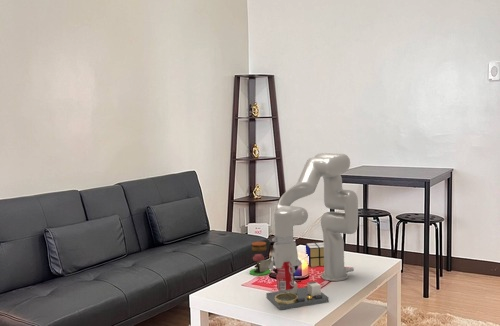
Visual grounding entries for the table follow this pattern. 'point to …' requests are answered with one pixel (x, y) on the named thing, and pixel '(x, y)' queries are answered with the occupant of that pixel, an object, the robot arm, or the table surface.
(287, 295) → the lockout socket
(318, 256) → the puzzle cube
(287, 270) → the soda can
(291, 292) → the block
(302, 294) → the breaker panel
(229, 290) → the table surface
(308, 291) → the block
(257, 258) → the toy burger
